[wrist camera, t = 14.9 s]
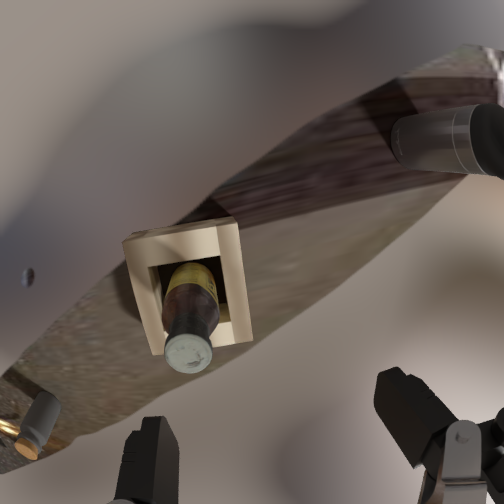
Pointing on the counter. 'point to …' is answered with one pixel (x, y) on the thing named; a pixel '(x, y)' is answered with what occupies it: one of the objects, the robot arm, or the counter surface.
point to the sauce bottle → (190, 317)
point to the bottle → (38, 425)
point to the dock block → (183, 249)
